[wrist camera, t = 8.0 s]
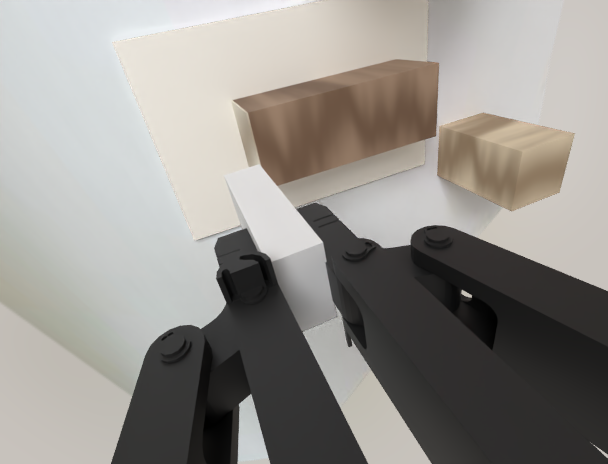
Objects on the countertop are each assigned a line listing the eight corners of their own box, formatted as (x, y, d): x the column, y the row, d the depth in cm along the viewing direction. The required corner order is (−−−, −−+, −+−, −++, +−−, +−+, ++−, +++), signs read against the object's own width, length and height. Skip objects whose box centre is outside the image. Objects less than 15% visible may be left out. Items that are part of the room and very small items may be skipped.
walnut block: (245, 113, 18) (438, 62, 21) (230, 100, 22) (396, 59, 24) (265, 189, 20) (435, 135, 23) (248, 166, 24) (397, 122, 27)
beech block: (439, 126, 29) (522, 151, 22) (482, 112, 30) (574, 133, 23) (437, 175, 31) (511, 211, 25) (477, 161, 32) (559, 192, 26)
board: (112, 42, 19) (112, 42, 18) (425, -20, 23) (429, -21, 23) (193, 238, 26) (194, 240, 25) (421, 162, 30) (424, 164, 30)
